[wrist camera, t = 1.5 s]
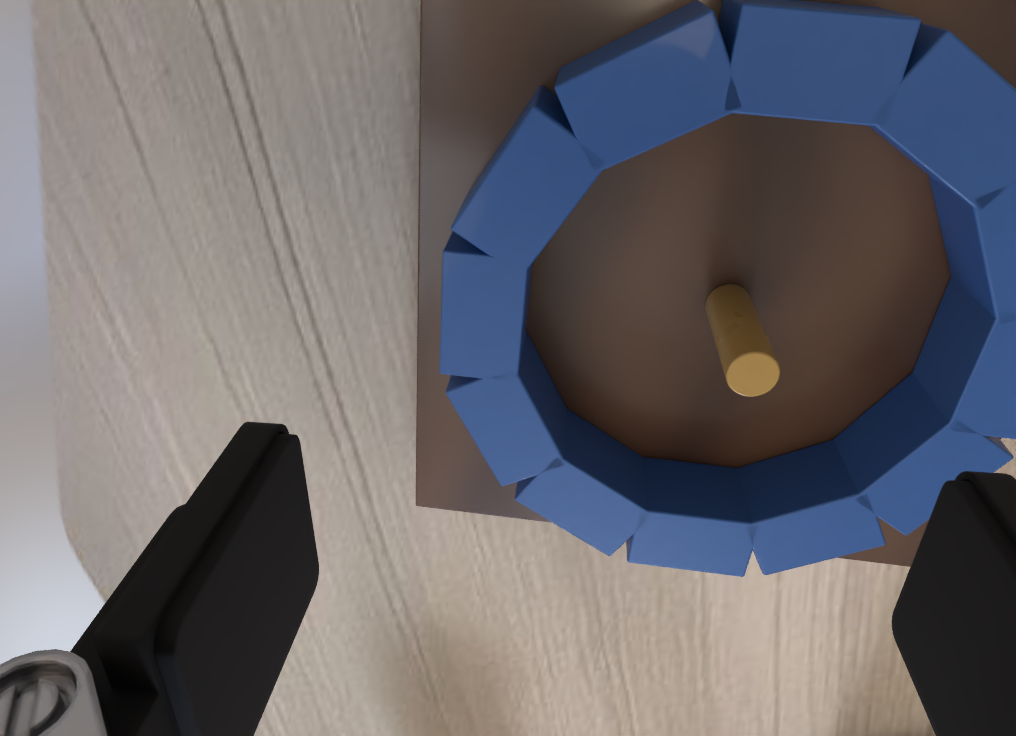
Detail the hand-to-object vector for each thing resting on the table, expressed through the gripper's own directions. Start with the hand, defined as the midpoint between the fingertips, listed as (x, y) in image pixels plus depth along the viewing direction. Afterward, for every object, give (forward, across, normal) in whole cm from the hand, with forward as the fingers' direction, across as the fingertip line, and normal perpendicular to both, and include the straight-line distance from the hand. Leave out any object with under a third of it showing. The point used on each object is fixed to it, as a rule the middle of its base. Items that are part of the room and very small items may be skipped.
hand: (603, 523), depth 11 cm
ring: (+12, -4, +2) cm, 13 cm away
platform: (+16, -4, +2) cm, 16 cm away
